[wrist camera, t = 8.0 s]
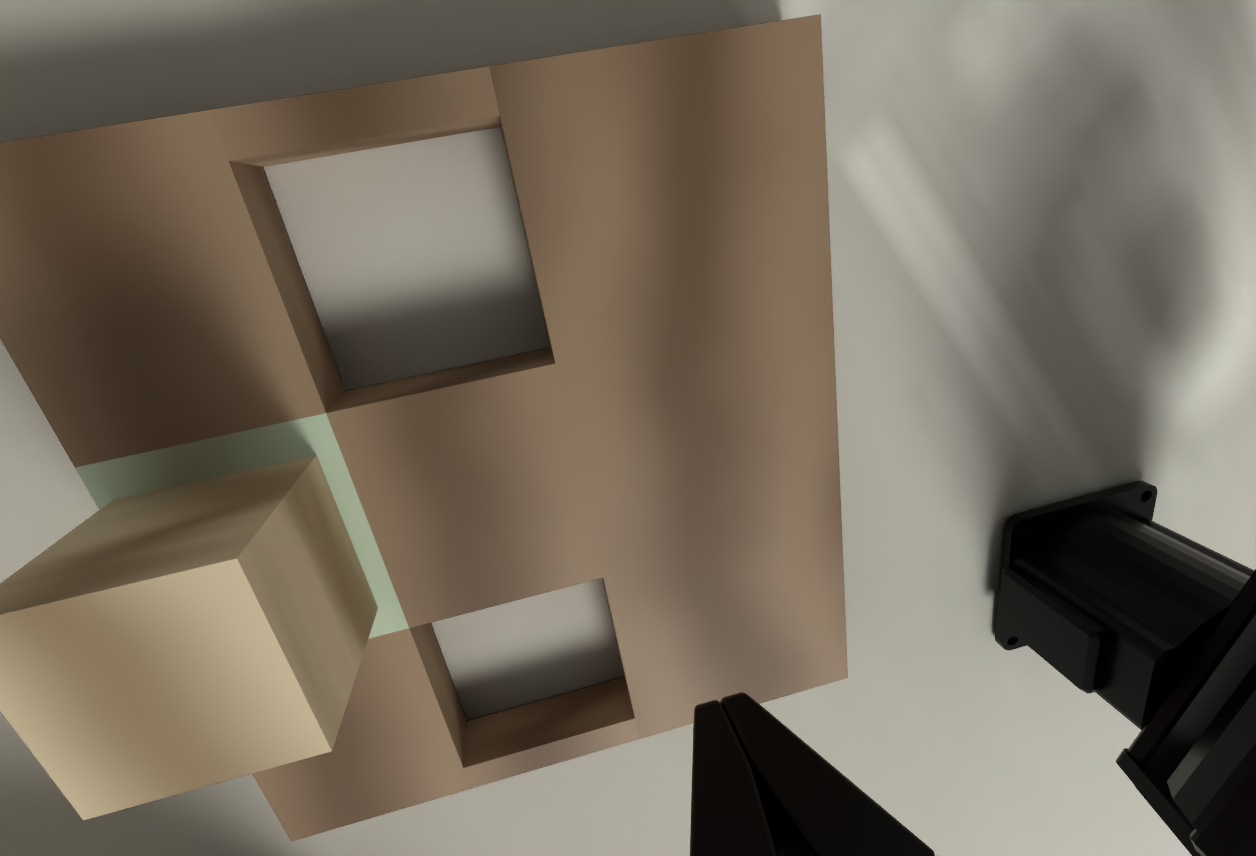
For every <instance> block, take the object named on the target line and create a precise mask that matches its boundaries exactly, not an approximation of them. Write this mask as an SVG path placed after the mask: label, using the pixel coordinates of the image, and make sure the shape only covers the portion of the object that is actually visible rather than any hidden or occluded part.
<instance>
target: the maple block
mask: <svg viewBox="0 0 1256 856" xmlns="http://www.w3.org/2000/svg"><path fill="white" fill-rule="evenodd" d="M377 610H378V606H377V604H376V601H375V599H374V596H373V594H372V591H371V589H370V586H369V584H368V581H367V579H366V576H365V574H364V571H363V569H362V566H361V564H360V561H359V559H358V556H357V554H356V551H355V549H354V546H353V544H352V541H351V539H350V536H349V534H348V531H347V529H346V526H345V524H344V522H343V519H342V517H341V514H340V512H339V509H338V507H337V504H336V502H335V499H334V497H333V494H332V492H331V489H330V487H329V484H328V482H327V479H326V477H325V474H324V472H323V469H322V467H321V464H320V462H319V459H318V457H317V455H314V456H310V457H305V458H301V459H296V460H292V461H287V462H283V463H278V464H274V465H269V466H265V467H260V468H256V469H251V470H247V471H242V472H238V473H233V474H229V475H224V476H220V477H215V478H211V479H206V480H202V481H197V482H193V483H188V484H183V485H179V486H174V487H170V488H165V489H161V490H156V491H152V492H147V493H143V494H138V495H134V496H129V497H125V498H120V499H116V500H113V501H111V502H110V503H109V504H107V505H106V506H104V507H103V508H102V509H100V510H99V511H98V512H96V513H95V514H94V515H92V516H91V517H90V518H88V519H87V520H86V521H84V522H83V523H82V524H80V525H79V526H77V527H76V528H75V529H73V530H72V531H71V532H69V533H68V534H67V535H65V536H64V537H63V538H61V539H60V540H59V541H57V542H56V543H55V544H53V545H52V546H50V547H49V548H48V549H46V550H45V551H44V552H42V553H41V554H40V555H38V556H37V557H36V558H34V559H33V560H32V561H30V562H29V563H28V564H26V565H25V566H23V567H22V568H21V569H19V570H18V571H17V572H15V573H14V574H13V575H11V576H10V577H9V578H7V579H6V580H5V581H3V582H2V583H1V584H0V711H1V712H2V714H3V715H4V716H5V718H6V719H7V720H8V722H9V723H10V724H11V725H12V727H13V728H14V729H15V731H16V732H17V733H18V735H19V736H20V737H21V739H22V740H23V741H24V743H25V744H26V745H27V747H28V748H29V749H30V751H31V752H32V753H33V755H34V756H35V757H36V759H37V760H38V761H39V762H40V764H41V765H42V766H43V768H44V769H45V770H46V772H47V773H48V774H49V776H50V777H51V778H52V780H53V781H54V782H55V784H56V785H57V786H58V788H59V789H60V790H61V792H62V793H63V794H64V796H65V797H66V798H67V799H68V801H69V802H70V803H71V805H72V806H73V807H74V809H75V810H76V811H77V813H78V814H79V815H80V817H81V818H82V819H83V820H87V819H90V818H94V817H97V816H101V815H105V814H108V813H112V812H115V811H119V810H123V809H126V808H130V807H133V806H137V805H141V804H144V803H148V802H151V801H155V800H159V799H162V798H166V797H169V796H173V795H177V794H180V793H184V792H187V791H191V790H194V789H198V788H202V787H205V786H209V785H212V784H216V783H220V782H223V781H227V780H230V779H234V778H238V777H241V776H245V775H248V774H252V773H256V772H259V771H263V770H266V769H270V768H274V767H277V766H281V765H284V764H288V763H292V762H295V761H299V760H302V759H306V758H310V757H313V756H317V755H320V754H324V753H328V752H331V751H332V750H333V747H334V743H335V740H336V737H337V734H338V731H339V728H340V725H341V722H342V719H343V716H344V712H345V709H346V706H347V703H348V700H349V697H350V694H351V691H352V688H353V685H354V681H355V678H356V675H357V672H358V669H359V666H360V663H361V660H362V657H363V654H364V650H365V647H366V644H367V641H368V638H369V635H370V632H371V629H372V626H373V622H374V619H375V616H376V613H377Z"/></svg>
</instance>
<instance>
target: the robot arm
mask: <svg viewBox="0 0 1256 856" xmlns="http://www.w3.org/2000/svg"><path fill="white" fill-rule="evenodd" d="M1156 496H1157V489H1156V487H1155V486H1153V485H1151V484H1149V483H1146V482H1144V481H1137V482H1133V483H1129V484H1125V485H1122V486H1118V487H1114V488H1111V489H1107V490H1103V491H1100V492H1096V493H1092V494H1088V495H1085V496H1081V497H1077V498H1074V499H1070V500H1066V501H1062V502H1059V503H1055V504H1051V505H1048V506H1044V507H1040V508H1037V509H1033V510H1029V511H1025V512H1022V513H1018V514H1015V515H1013V516H1011V517H1010V518H1009V519H1008V520H1007V521H1006V523H1005V525H1004V529H1003V542H1002V555H1001V568H1000V581H999V593H998V606H997V619H996V632H995V640H996V642H997V643H998V644H999V645H1000V646H1002V647H1003V648H1004V649H1005V650H1013V649H1016V648H1020V647H1023V646H1026V645H1028V646H1029V647H1030V648H1031V649H1033V650H1034V651H1035V652H1036V653H1037V654H1039V655H1040V656H1041V657H1042V658H1043V659H1044V660H1046V661H1047V662H1048V663H1049V664H1050V665H1052V666H1053V667H1054V668H1055V669H1056V670H1058V671H1059V672H1060V673H1061V674H1062V675H1064V676H1065V677H1066V678H1067V679H1068V680H1069V681H1071V682H1072V683H1073V684H1074V685H1075V686H1077V687H1078V688H1079V689H1081V690H1082V691H1084V692H1086V693H1093V692H1096V693H1097V694H1098V695H1099V696H1101V697H1102V698H1103V699H1104V700H1105V701H1107V702H1108V703H1109V704H1110V705H1112V706H1113V707H1114V708H1115V709H1116V710H1118V711H1119V712H1120V713H1121V714H1122V715H1124V716H1125V717H1126V718H1127V719H1129V720H1130V721H1131V722H1132V723H1133V724H1135V725H1136V726H1137V727H1138V728H1140V729H1141V732H1140V733H1139V735H1138V736H1137V738H1136V739H1135V740H1134V742H1133V743H1132V745H1131V746H1130V747H1129V749H1126V748H1125V749H1124V750H1123V751H1122V752H1121V754H1120V755H1119V757H1118V758H1117V760H1116V763H1117V764H1118V765H1119V767H1120V768H1121V769H1122V770H1123V771H1124V773H1125V774H1126V775H1127V776H1128V777H1129V779H1130V780H1131V781H1132V782H1133V784H1134V785H1135V787H1136V788H1137V790H1138V791H1139V792H1140V793H1141V794H1142V796H1143V797H1144V798H1145V799H1146V800H1147V802H1148V803H1149V804H1150V805H1151V806H1152V808H1153V809H1154V810H1155V811H1156V812H1157V814H1158V815H1159V816H1160V817H1161V819H1162V820H1163V821H1164V822H1165V823H1166V825H1167V826H1168V827H1169V828H1170V829H1171V831H1172V832H1173V833H1174V834H1175V835H1176V837H1177V838H1178V839H1179V840H1180V841H1181V843H1182V844H1183V845H1184V846H1185V847H1186V849H1187V850H1188V851H1189V852H1190V854H1191V855H1192V856H1256V569H1255V571H1254V570H1252V569H1250V568H1248V567H1246V566H1244V565H1242V564H1240V563H1238V562H1236V561H1234V560H1232V559H1229V558H1227V557H1225V556H1223V555H1221V554H1219V553H1217V552H1215V551H1213V550H1211V549H1209V548H1207V547H1205V546H1203V545H1201V544H1199V543H1196V542H1194V541H1192V540H1190V539H1188V538H1186V537H1184V536H1182V535H1180V534H1178V533H1176V532H1174V531H1172V530H1170V529H1168V528H1165V527H1163V526H1161V525H1159V524H1157V523H1155V522H1153V521H1152V518H1153V512H1154V507H1155V502H1156ZM690 856H935V854H934V851H933V850H932V849H931V848H930V847H928V846H927V845H926V844H925V843H924V842H922V841H921V840H920V839H919V838H918V837H916V836H915V835H914V834H913V833H912V832H911V831H909V830H908V829H907V828H906V827H905V826H903V825H902V824H901V823H900V822H899V821H897V820H896V819H895V818H894V817H893V816H892V815H890V814H889V813H888V812H887V811H886V810H884V809H883V808H882V807H881V806H880V805H878V804H877V803H876V802H875V801H874V800H873V799H871V798H870V797H869V796H868V795H867V794H865V793H864V792H863V791H862V790H861V789H859V788H858V787H857V786H856V785H855V784H854V783H852V782H851V781H850V780H849V779H848V778H846V777H845V776H844V775H843V774H842V773H840V772H839V771H838V770H837V769H836V768H835V767H833V766H832V765H831V764H830V763H829V762H827V761H826V760H825V759H824V758H823V757H821V756H820V755H819V754H818V753H817V752H816V751H814V750H813V749H812V748H811V747H810V746H808V745H807V744H806V743H805V742H804V741H802V740H801V739H800V738H799V737H798V736H797V735H795V734H794V733H793V732H792V731H791V730H789V729H788V728H787V727H786V726H785V725H783V724H782V723H781V722H780V721H779V720H778V719H776V718H775V717H774V716H773V715H772V714H770V713H769V712H768V711H767V710H766V709H764V708H763V707H762V706H761V705H760V704H759V703H757V702H756V701H755V700H754V699H753V698H751V697H750V696H749V695H748V694H746V693H743V692H740V693H736V694H733V695H729V696H726V697H723V698H722V699H721V700H720V702H719V701H718V700H712V701H709V702H705V703H702V704H698V705H696V706H695V708H694V728H693V764H692V800H691V836H690Z"/></svg>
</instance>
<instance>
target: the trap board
mask: <svg viewBox="0 0 1256 856" xmlns="http://www.w3.org/2000/svg"><path fill="white" fill-rule="evenodd" d="M496 127H501V130H502V134H503V139H504V143H505V148H506V152H507V156H508V161H509V165H510V170H511V174H512V179H513V183H514V188H515V192H516V196H517V201H518V205H519V210H520V214H521V219H522V223H523V228H524V232H525V236H526V241H527V245H528V250H529V254H530V259H531V263H532V268H533V272H534V276H535V281H536V285H537V290H538V294H539V299H540V303H541V308H542V312H543V316H544V321H545V325H546V330H547V334H548V339H549V343H550V348H546V349H541V350H536V351H532V352H527V353H522V354H518V355H513V356H508V357H504V358H499V359H494V360H490V361H485V362H480V363H475V364H471V365H466V366H461V367H457V368H452V369H447V370H443V371H438V372H433V373H429V374H424V375H419V376H414V377H410V378H405V379H400V380H396V381H391V382H386V383H382V384H377V385H372V386H367V387H363V388H358V389H353V390H349V391H345V388H344V386H343V383H342V380H341V378H340V375H339V372H338V369H337V367H336V364H335V361H334V359H333V356H332V353H331V350H330V348H329V345H328V342H327V339H326V337H325V334H324V331H323V329H322V326H321V323H320V320H319V318H318V315H317V312H316V310H315V307H314V304H313V301H312V299H311V296H310V293H309V291H308V288H307V285H306V282H305V280H304V277H303V274H302V272H301V269H300V266H299V263H298V261H297V258H296V255H295V253H294V250H293V247H292V244H291V242H290V239H289V236H288V234H287V231H286V228H285V225H284V223H283V220H282V217H281V215H280V212H279V209H278V206H277V204H276V201H275V198H274V196H273V193H272V190H271V187H270V185H269V182H268V179H267V177H266V174H265V171H264V168H263V167H264V166H270V165H276V164H282V163H288V162H294V161H300V160H306V159H312V158H317V157H323V156H329V155H335V154H341V153H347V152H353V151H359V150H365V149H371V148H377V147H383V146H389V145H395V144H401V143H406V142H412V141H418V140H424V139H430V138H436V137H442V136H448V135H454V134H460V133H466V132H472V131H478V130H484V129H490V128H496ZM0 339H1V340H2V342H3V344H4V345H5V347H6V349H7V351H8V352H9V354H10V356H11V358H12V359H13V361H14V363H15V364H16V366H17V368H18V370H19V371H20V373H21V375H22V377H23V378H24V380H25V382H26V384H27V385H28V387H29V389H30V390H31V392H32V394H33V396H34V397H35V399H36V401H37V403H38V404H39V406H40V408H41V409H42V411H43V413H44V415H45V416H46V418H47V420H48V422H49V423H50V425H51V427H52V428H53V430H54V432H55V434H56V435H57V437H58V439H59V441H60V442H61V444H62V446H63V447H64V449H65V451H66V453H67V454H68V456H69V458H70V460H71V461H72V463H73V465H74V467H75V468H76V470H77V472H78V473H79V475H80V477H81V479H82V480H83V482H84V484H85V486H86V487H87V489H88V491H89V492H90V494H91V496H92V498H93V499H94V501H95V503H96V505H97V506H98V508H99V510H100V509H102V508H103V507H104V506H106V505H107V504H109V503H110V502H111V501H113V500H116V499H120V498H125V497H129V496H134V495H138V494H143V493H147V492H152V491H156V490H161V489H165V488H170V487H174V486H179V485H183V484H188V483H193V482H197V481H202V480H206V479H211V478H215V477H220V476H224V475H229V474H233V473H238V472H242V471H247V470H251V469H256V468H260V467H265V466H269V465H274V464H278V463H283V462H287V461H292V460H296V459H301V458H305V457H310V456H314V455H317V457H318V459H319V462H320V464H321V467H322V469H323V472H324V474H325V477H326V479H327V482H328V484H329V487H330V489H331V492H332V494H333V497H334V499H335V502H336V504H337V507H338V509H339V512H340V514H341V517H342V519H343V522H344V524H345V526H346V529H347V531H348V534H349V536H350V539H351V541H352V544H353V546H354V549H355V551H356V554H357V556H358V559H359V561H360V564H361V566H362V569H363V571H364V574H365V576H366V579H367V581H368V584H369V586H370V589H371V591H372V594H373V596H374V599H375V601H376V604H377V606H378V610H377V613H376V616H375V619H374V622H373V626H372V629H371V632H370V635H369V638H368V641H367V644H366V647H365V650H364V654H363V657H362V660H361V663H360V666H359V669H358V672H357V675H356V678H355V681H354V685H353V688H352V691H351V694H350V697H349V700H348V703H347V706H346V709H345V712H344V716H343V719H342V722H341V725H340V728H339V731H338V734H337V737H336V740H335V743H334V747H333V750H332V751H331V752H328V753H324V754H320V755H317V756H313V757H310V758H306V759H302V760H299V761H295V762H292V763H288V764H284V765H281V766H277V767H274V768H270V769H266V770H263V771H259V772H256V773H252V774H253V776H254V778H255V780H256V781H257V783H258V785H259V786H260V788H261V790H262V792H263V793H264V795H265V797H266V799H267V800H268V802H269V804H270V806H271V807H272V809H273V811H274V812H275V814H276V816H277V818H278V819H279V821H280V823H281V825H282V826H283V828H284V830H285V831H286V833H287V835H288V837H289V838H290V840H291V841H295V840H298V839H301V838H305V837H308V836H312V835H315V834H318V833H322V832H325V831H329V830H332V829H335V828H339V827H342V826H346V825H349V824H352V823H356V822H359V821H363V820H366V819H369V818H373V817H376V816H380V815H383V814H386V813H390V812H393V811H397V810H400V809H403V808H407V807H410V806H413V805H417V804H420V803H424V802H427V801H430V800H434V799H437V798H441V797H444V796H447V795H451V794H454V793H458V792H461V791H464V790H468V789H471V788H475V787H478V786H481V785H485V784H488V783H492V782H495V781H498V780H502V779H505V778H509V777H512V776H515V775H519V774H522V773H526V772H529V771H532V770H536V769H539V768H543V767H546V766H549V765H553V764H556V763H560V762H563V761H566V760H570V759H573V758H577V757H580V756H583V755H587V754H590V753H594V752H597V751H600V750H604V749H607V748H611V747H614V746H617V745H621V744H624V743H628V742H631V741H634V740H638V739H641V738H644V737H648V736H651V735H655V734H658V733H661V732H665V731H668V730H672V729H675V728H678V727H682V726H685V725H689V724H692V723H694V708H695V706H696V705H698V704H702V703H705V702H709V701H712V700H718V701H719V702H720V700H721V699H722V698H723V697H726V696H729V695H733V694H736V693H740V692H743V693H746V694H748V695H749V696H750V697H751V698H753V699H754V700H755V701H756V702H757V703H759V704H760V703H763V702H767V701H770V700H774V699H777V698H780V697H784V696H787V695H791V694H794V693H797V692H801V691H804V690H808V689H811V688H814V687H818V686H821V685H825V684H828V683H831V682H835V681H838V680H842V679H845V678H848V668H847V643H846V619H845V595H844V570H843V546H842V522H841V497H840V473H839V448H838V424H837V400H836V375H835V351H834V327H833V302H832V278H831V253H830V229H829V205H828V180H827V156H826V132H825V107H824V83H823V58H822V34H821V14H820V15H813V16H807V17H801V18H794V19H788V20H782V21H775V22H769V23H762V24H756V25H750V26H743V27H737V28H730V29H724V30H718V31H711V32H705V33H698V34H692V35H686V36H679V37H673V38H666V39H660V40H654V41H647V42H641V43H634V44H628V45H622V46H615V47H609V48H603V49H596V50H590V51H583V52H577V53H571V54H564V55H558V56H551V57H545V58H539V59H532V60H526V61H519V62H513V63H507V64H500V65H494V66H487V67H481V68H475V69H468V70H462V71H456V72H449V73H443V74H436V75H430V76H424V77H417V78H411V79H404V80H398V81H392V82H385V83H379V84H372V85H366V86H360V87H353V88H347V89H340V90H334V91H328V92H321V93H315V94H309V95H302V96H296V97H289V98H283V99H277V100H270V101H264V102H257V103H251V104H245V105H238V106H232V107H225V108H219V109H213V110H206V111H200V112H193V113H187V114H181V115H174V116H168V117H162V118H155V119H149V120H142V121H136V122H130V123H123V124H117V125H110V126H104V127H98V128H91V129H85V130H78V131H72V132H66V133H59V134H53V135H46V136H40V137H34V138H27V139H21V140H14V141H8V142H2V143H0ZM600 578H602V579H603V583H604V588H605V592H606V596H607V601H608V605H609V610H610V614H611V619H612V623H613V628H614V632H615V636H616V641H617V645H618V650H619V654H620V659H621V663H622V668H623V672H624V676H625V677H622V678H619V679H615V680H611V681H608V682H604V683H601V684H597V685H594V686H590V687H587V688H583V689H579V690H576V691H572V692H569V693H565V694H562V695H558V696H555V697H551V698H547V699H544V700H540V701H537V702H533V703H530V704H526V705H523V706H519V707H515V708H512V709H508V710H505V711H501V712H498V713H494V714H491V715H487V716H483V717H480V718H476V719H473V720H469V721H467V720H466V717H465V714H464V711H463V709H462V706H461V703H460V701H459V698H458V695H457V692H456V690H455V687H454V684H453V682H452V679H451V676H450V673H449V671H448V668H447V665H446V663H445V660H444V657H443V654H442V652H441V649H440V646H439V644H438V641H437V638H436V635H435V633H434V630H433V627H432V625H431V622H435V621H439V620H443V619H446V618H450V617H454V616H458V615H462V614H466V613H469V612H473V611H477V610H481V609H485V608H489V607H492V606H496V605H500V604H504V603H508V602H512V601H515V600H519V599H523V598H527V597H531V596H535V595H538V594H542V593H546V592H550V591H554V590H558V589H561V588H565V587H569V586H573V585H577V584H581V583H585V582H588V581H592V580H596V579H600Z"/></svg>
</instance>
